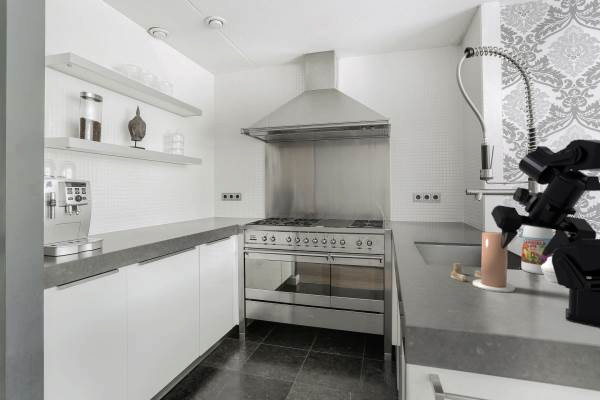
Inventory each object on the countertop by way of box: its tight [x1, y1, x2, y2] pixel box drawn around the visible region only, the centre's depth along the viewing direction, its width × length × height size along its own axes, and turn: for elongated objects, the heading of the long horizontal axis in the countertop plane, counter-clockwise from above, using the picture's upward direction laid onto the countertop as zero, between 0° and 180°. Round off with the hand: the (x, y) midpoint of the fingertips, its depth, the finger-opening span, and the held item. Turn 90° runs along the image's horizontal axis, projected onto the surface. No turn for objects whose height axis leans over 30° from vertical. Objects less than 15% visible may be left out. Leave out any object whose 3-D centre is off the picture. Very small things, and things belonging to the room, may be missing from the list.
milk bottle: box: [520, 225, 555, 275], centre depth 94 cm, size 8×8×20 cm
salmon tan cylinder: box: [480, 231, 509, 288], centre depth 77 cm, size 6×6×13 cm
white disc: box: [472, 278, 516, 293], centre depth 78 cm, size 9×9×1 cm
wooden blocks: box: [450, 262, 481, 283], centre depth 87 cm, size 8×9×3 cm
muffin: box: [541, 257, 558, 284], centre depth 83 cm, size 6×6×7 cm
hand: (522, 250), depth 72 cm, fingers open, 9 cm apart
